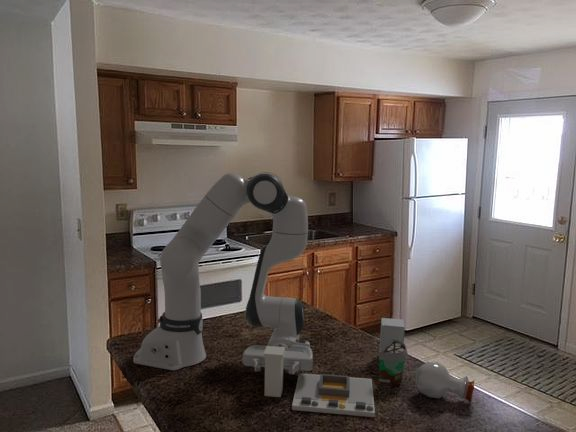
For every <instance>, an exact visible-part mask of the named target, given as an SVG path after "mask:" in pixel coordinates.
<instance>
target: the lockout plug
mask: <svg viewBox="0 0 576 432" xmlns="http://www.w3.org/2000/svg"><path fill="white" fill-rule="evenodd" d="M266 346H267V345H266ZM284 353H285V347H276V346H267V347H266V349H265V351H264V353H263V358H265V367H264V397H273V398H281V397H282V394H283V391H284V390H283V389H284V369H283V357H284Z"/></svg>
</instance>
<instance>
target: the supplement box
mask: <svg viewBox="0 0 576 432" xmlns="http://www.w3.org/2000/svg"><path fill="white" fill-rule="evenodd" d="M380 320H381V321H380V337H379V353H378V355H379V354H380V352H384V350H385V349H386V348H387V347H388V346H389V345H391V344H392V343H393V339H395V340H398V341H400V342H402V343H404V344H405V328H406V325H405V321H404V319H403V318H402V319H399V318H388V317H386V318H385V317H381V319H380Z"/></svg>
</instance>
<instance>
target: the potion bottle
mask: <svg viewBox="0 0 576 432" xmlns="http://www.w3.org/2000/svg"><path fill="white" fill-rule="evenodd" d="M415 385H416V386H417V388H418V390H419V391H420V393H421V394H423V395H424V396H426V397H428V398H429V399H430V398H431V399H441V398H442V397H443V396H445V395H446V394H447V393H448V394H450V395H454V396H457V398H458V399H459V401H460V402H461V403H462V402H463V401H467V402H468V403H469V404H471V403H472V399H473V393H474V389H475V380H473V381H470V380H469V378H468V376H467V375H466V376H464V377H461V378H457V377H454V376H452V375H451V374H450V373H449V371H448V369H447V367H446V366H444V365H443V364H441V363H439V362H437V361H429V362H428V361H427V362H425V363H424V364H422V365H420V366H419V367H418V369H417V370H416V373H415Z"/></svg>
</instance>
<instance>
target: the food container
mask: <svg viewBox="0 0 576 432" xmlns="http://www.w3.org/2000/svg"><path fill="white" fill-rule="evenodd" d="M407 357H408V347H407V346H406V344H405V342H404V343H402V342H400V341H398V340H395V339H393V343H392V344H391V345H389V346H388V347H387V348H386V349H385V350H384V352H380V354H379V353H378V360H379V364H378V365H379V370H378V371H379V372H378V373H379V374H378V376H379V377H378V379H379V380H378V381H379V382H378V384H380V385H383V386H395V385H399V384H401V383H402V381H403V377H404V376H403V375H404V368H405V360H406V358H407Z"/></svg>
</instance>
